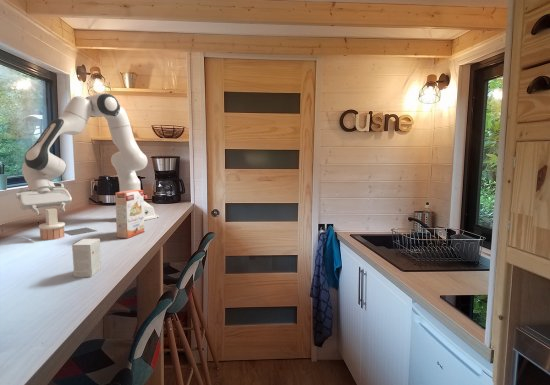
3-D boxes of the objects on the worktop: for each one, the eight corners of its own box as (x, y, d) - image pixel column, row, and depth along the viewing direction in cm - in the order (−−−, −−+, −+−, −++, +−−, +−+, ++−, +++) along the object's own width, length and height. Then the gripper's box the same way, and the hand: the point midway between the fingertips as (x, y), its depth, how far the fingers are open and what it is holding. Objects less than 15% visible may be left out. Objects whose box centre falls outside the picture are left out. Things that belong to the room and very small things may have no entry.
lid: (59, 223, 167) (58, 206, 166) (69, 226, 161) (67, 209, 160) (35, 227, 159) (33, 209, 158) (44, 230, 153) (42, 212, 152)
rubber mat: (86, 228, 181) (86, 227, 181) (97, 231, 174) (97, 230, 174) (60, 232, 171) (60, 231, 171) (71, 236, 164) (71, 235, 164)
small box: (84, 269, 120) (82, 238, 119) (101, 268, 121) (100, 238, 120) (73, 277, 112) (71, 244, 111) (91, 277, 113) (90, 244, 112)
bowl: (59, 235, 166) (58, 224, 166) (67, 238, 161) (67, 226, 160) (37, 238, 159) (36, 227, 159) (45, 242, 154) (44, 230, 153)
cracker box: (128, 238, 161) (126, 192, 158) (116, 238, 162) (114, 192, 159) (145, 231, 174) (143, 189, 172) (134, 231, 176) (132, 189, 173)
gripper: (15, 186, 153) (26, 211, 149) (66, 183, 169) (77, 205, 165) (13, 196, 157) (23, 221, 152) (63, 192, 173) (73, 214, 168)
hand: (51, 213), depth 158 cm, fingers open, 8 cm apart
